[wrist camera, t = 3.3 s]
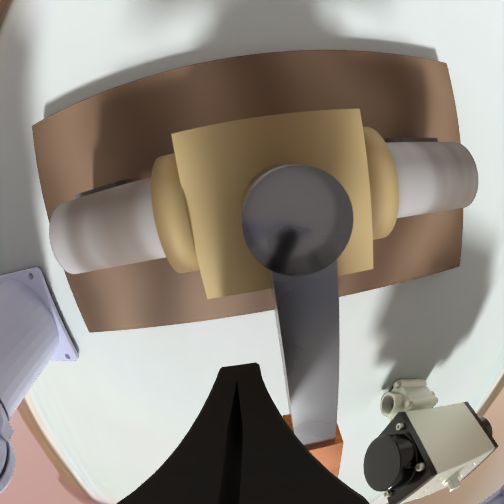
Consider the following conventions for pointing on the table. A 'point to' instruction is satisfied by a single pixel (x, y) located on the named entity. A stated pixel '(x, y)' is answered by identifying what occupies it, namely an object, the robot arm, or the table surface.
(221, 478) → the robot arm
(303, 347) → the valve lever
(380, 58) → the ball valve
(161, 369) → the table surface
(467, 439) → the pneumatic valve
